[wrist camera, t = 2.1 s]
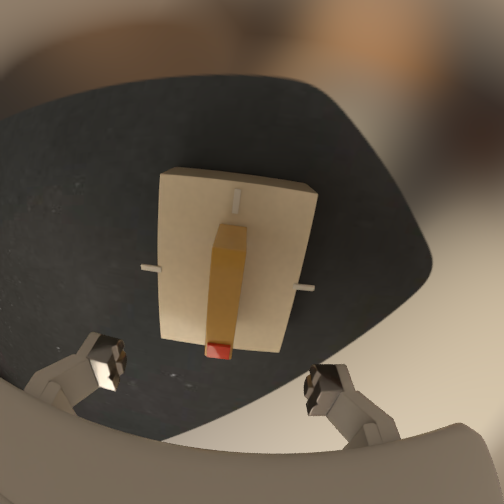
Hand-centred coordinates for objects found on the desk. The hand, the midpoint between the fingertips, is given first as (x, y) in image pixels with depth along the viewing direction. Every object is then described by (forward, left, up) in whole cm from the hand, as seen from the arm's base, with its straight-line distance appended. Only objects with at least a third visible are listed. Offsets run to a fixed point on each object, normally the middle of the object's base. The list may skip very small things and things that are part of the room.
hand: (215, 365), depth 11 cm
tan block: (0, 0, -11) cm, 11 cm away
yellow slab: (0, 0, -7) cm, 7 cm away
